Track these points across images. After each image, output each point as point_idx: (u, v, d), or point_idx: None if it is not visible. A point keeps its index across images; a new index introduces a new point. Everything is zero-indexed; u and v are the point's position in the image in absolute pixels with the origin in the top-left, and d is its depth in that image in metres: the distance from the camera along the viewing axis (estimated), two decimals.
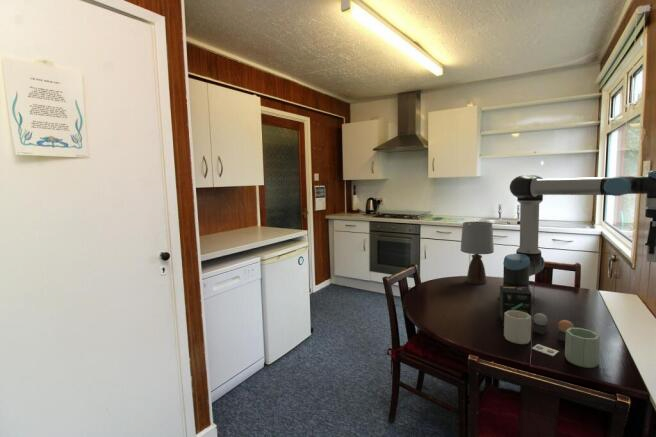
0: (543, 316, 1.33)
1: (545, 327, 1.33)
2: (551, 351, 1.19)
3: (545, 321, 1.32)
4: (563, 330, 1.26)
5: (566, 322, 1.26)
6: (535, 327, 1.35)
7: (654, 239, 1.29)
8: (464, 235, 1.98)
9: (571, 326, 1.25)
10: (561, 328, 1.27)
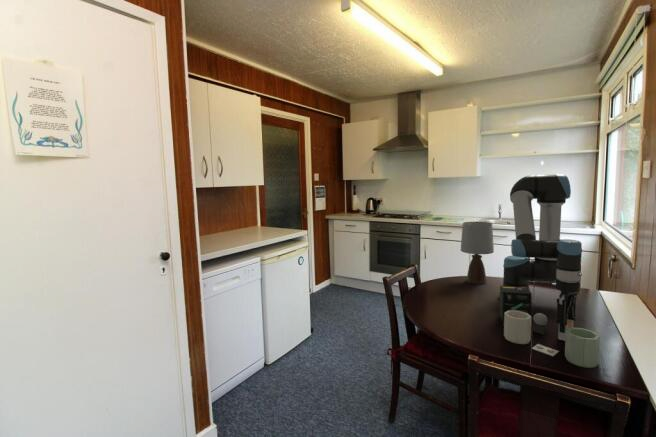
0: (543, 316, 1.33)
1: (545, 327, 1.33)
2: (551, 351, 1.19)
3: (545, 321, 1.32)
4: None
5: None
6: (535, 327, 1.35)
7: (562, 319, 1.23)
8: (464, 235, 1.98)
9: (571, 326, 1.25)
10: None
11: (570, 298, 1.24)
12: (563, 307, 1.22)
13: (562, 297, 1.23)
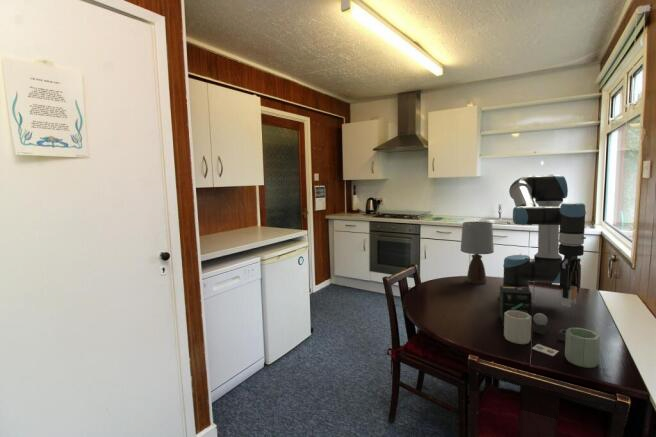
0: (543, 316, 1.33)
1: (545, 327, 1.33)
2: (551, 351, 1.19)
3: (545, 321, 1.32)
4: None
5: None
6: (535, 327, 1.35)
7: (566, 283, 1.19)
8: (464, 235, 1.98)
9: (575, 291, 1.22)
10: None
11: (573, 262, 1.20)
12: (566, 271, 1.19)
13: (565, 261, 1.20)
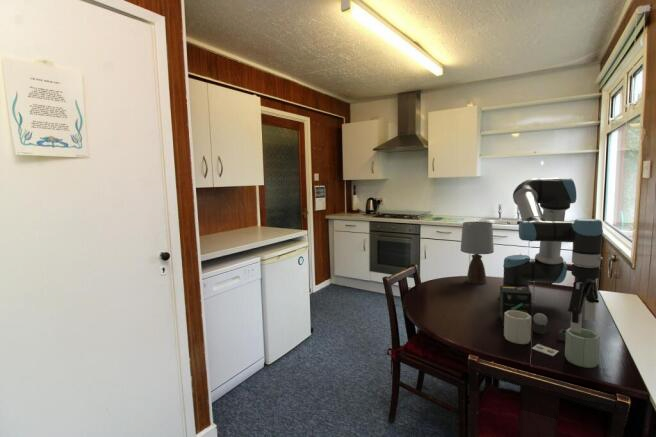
0: (543, 316, 1.33)
1: (545, 327, 1.33)
2: (551, 351, 1.19)
3: (545, 321, 1.32)
4: None
5: None
6: (535, 327, 1.35)
7: (577, 306, 1.04)
8: (464, 235, 1.98)
9: None
10: None
11: (589, 285, 1.07)
12: (580, 292, 1.05)
13: (580, 282, 1.07)
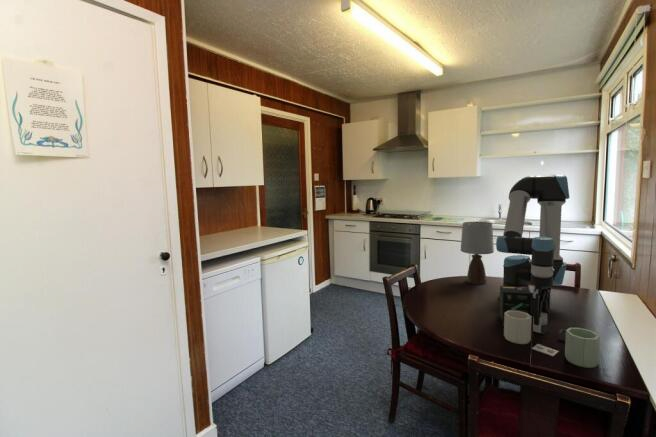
0: (543, 316, 1.33)
1: (545, 327, 1.33)
2: (551, 351, 1.19)
3: (545, 321, 1.32)
4: None
5: None
6: None
7: (536, 312, 1.30)
8: (464, 235, 1.98)
9: None
10: None
11: (543, 292, 1.31)
12: (536, 300, 1.29)
13: (536, 291, 1.30)
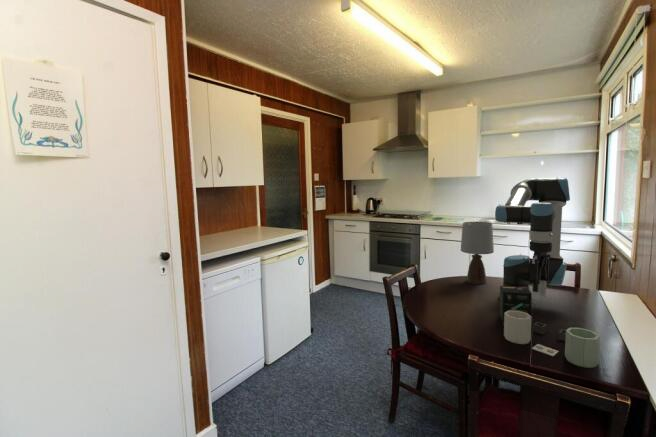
0: (542, 283, 1.31)
1: (545, 327, 1.33)
2: (551, 351, 1.19)
3: (544, 288, 1.30)
4: None
5: None
6: (535, 327, 1.35)
7: (535, 278, 1.27)
8: (464, 235, 1.98)
9: None
10: None
11: (542, 258, 1.29)
12: (535, 266, 1.27)
13: (535, 257, 1.28)
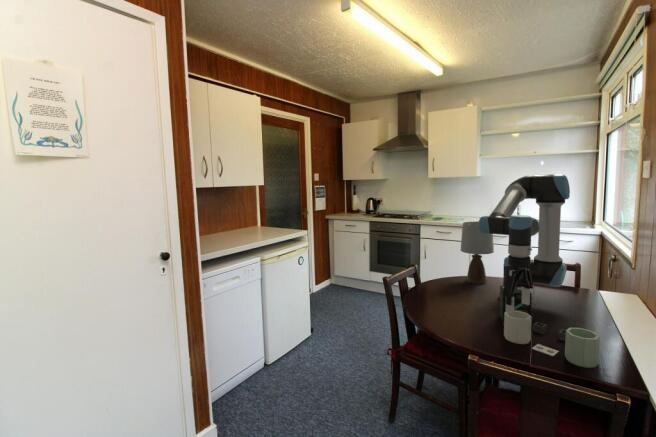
0: None
1: (545, 327, 1.33)
2: (551, 351, 1.19)
3: None
4: None
5: None
6: (535, 327, 1.35)
7: (509, 290, 1.21)
8: (464, 235, 1.98)
9: None
10: None
11: (521, 272, 1.24)
12: (512, 278, 1.22)
13: (513, 270, 1.24)
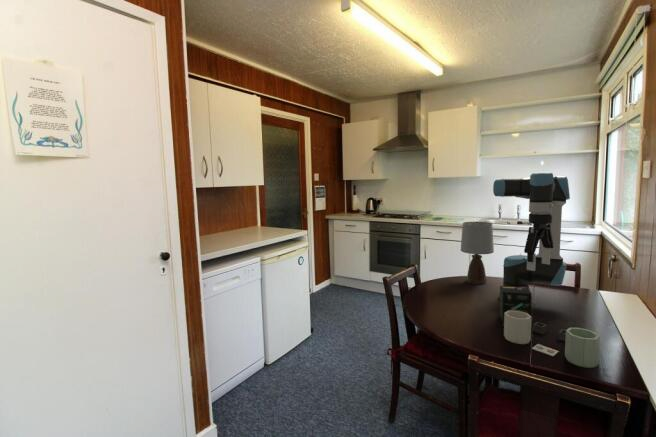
0: None
1: (545, 327, 1.33)
2: (551, 351, 1.19)
3: None
4: None
5: None
6: (535, 327, 1.35)
7: (531, 246, 1.21)
8: (464, 235, 1.98)
9: None
10: None
11: (542, 229, 1.24)
12: (533, 234, 1.21)
13: None
